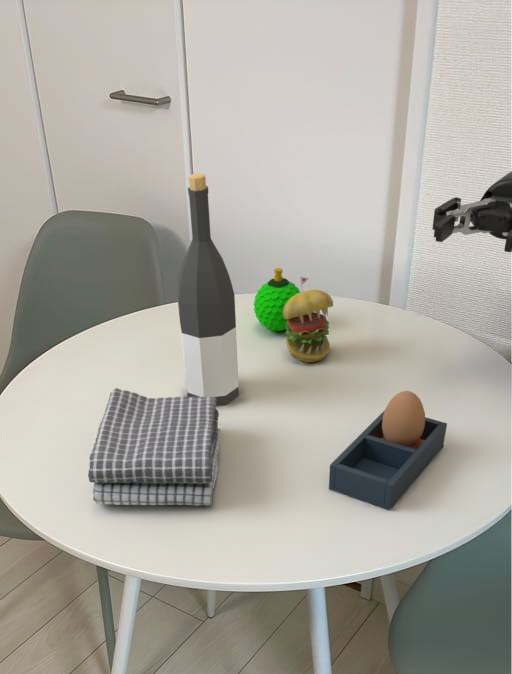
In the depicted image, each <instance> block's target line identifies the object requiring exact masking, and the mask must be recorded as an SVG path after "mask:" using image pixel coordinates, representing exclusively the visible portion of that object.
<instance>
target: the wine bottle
mask: <svg viewBox="0 0 512 674" xmlns="http://www.w3.org/2000/svg"><path fill="white" fill-rule="evenodd" d="M206 180H207V179H206V174H205V173H201V172H198V173H192V174H189V175H188V182H189V187H187V193H188V198H189V211H190V222H191V223H190V224H191V236H192V238H191V241H190V244H189V247H188V249H187V251H186V253H185V256H184V258H183V261H182V262H181V267H180V271H179V275H178V280H177V289H176V296H177V303H178V304H177V306H178V316H179V326H180V336H181V349H182V357H183V358H182V359H183V368H184V377H185V378H184V379H185V387H186V393H187V394H186V395H187V397H199V398H200V397H215V398H216V407H219V406H226V405H227V404H229V403H230V402H232V401H233V400H235V399H237V398H238V397H239V393H240V386H239V385H240V384H239V363H238V362H239V361H238V343H237V339H238V338H237V320H236V319H237V318H236V298H235V297H236V295H235V292H234V287H233V284H232V280H231V277H230V274H229V271H228V269H227V266H226V264H225V261H224V259H223V256H222V255H221V254H220V252H219V250H218V248H217V246H216V245H215V244H214V243H215V242H214V241H213V240H212V238H211V235H212V234H211V222H210V207H209V206H210V205H209V186H208V185H207V181H206Z"/></svg>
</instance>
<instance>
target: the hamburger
mask: <svg viewBox="0 0 512 674" xmlns="http://www.w3.org/2000/svg"><path fill="white" fill-rule="evenodd" d="M299 279H300V283H301V289H302V291H300V293H298V294H296V295H294V296H293V297H291V298H290V299H289V300H288V301H287V302H286V304H285V305H284V309H283V316H284V318H285V319H289V321H287V322H286V324H285V328H286V329H285V330H286V331H285V334H284V335H285V336H286V343H285V344H286V348H287V350H288V352H289V354H290V355H291V356H292V357H294V358H295V359H296V360H298V361H300V362H305V363H315V362H319V361H321V360H322V359H324V358H325V357H326V355H327V354H328V352H329V351H330V345H331V344H330V341H329V339H328V335H330V331H329V328H330V321H328V319H327V317H329V308H333V307H334V300H333V299H332V297H331V295H330V294H329V293H328V292H326V291H324V290H321V289H307V290H304V288H303V285H304V284H305V283H306V282H307V281H308V280H309V279H310V278H309V277H304V276H301V275H300V276H299ZM321 312H322V313H321Z"/></svg>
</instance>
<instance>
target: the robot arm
mask: <svg viewBox="0 0 512 674" xmlns="http://www.w3.org/2000/svg"><path fill="white" fill-rule="evenodd" d="M432 221H433V222H432V230H433V231H434V232H433V238H435V242H437V243H443V242H444V241H445V240H447V239H448V238H449V237H451V235H453V234H457V233H461V234H463V235H465V236H467V235H472V234H478V233H482V234H489V235H491V236H492V237H493V238H497V239H500V240H505V244H504V252H506V253H512V170H511V171H509V172H508V173H506V174H505V175H504V176H503V177H500V178H499V179H498V180H497V181H495V182H494V183H493V184H492V185H491V186H489V187H488V189H486V191H485V192H484V194H483V195H482V196H481V198H480V200H479V201H475V202H471V203H464V204H462V198H460V197H455V196H454V197H453V198H450V199H449V200H448V201H446V202H444V203H442V204H441V205H439V206H437V207H435V208H434V211H433V219H432ZM457 222H459V223H458V224H457V225H455V224H456V223H457ZM471 224H472V225H471ZM470 225H471V226H470Z"/></svg>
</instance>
